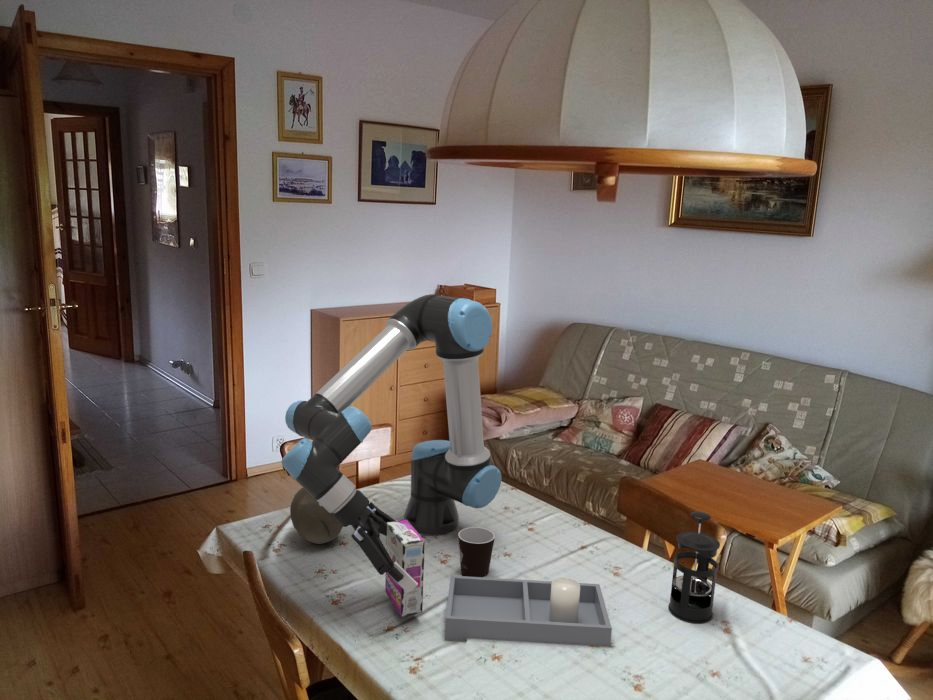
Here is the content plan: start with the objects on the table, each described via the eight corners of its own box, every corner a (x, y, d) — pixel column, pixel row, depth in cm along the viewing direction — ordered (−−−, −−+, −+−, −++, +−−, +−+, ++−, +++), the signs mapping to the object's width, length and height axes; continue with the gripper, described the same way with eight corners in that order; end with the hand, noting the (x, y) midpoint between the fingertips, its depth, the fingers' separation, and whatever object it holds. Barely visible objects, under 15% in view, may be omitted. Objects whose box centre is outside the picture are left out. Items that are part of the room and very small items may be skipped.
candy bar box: (424, 613, 148) (426, 540, 144) (401, 618, 145) (402, 544, 142) (405, 586, 157) (407, 518, 154) (384, 591, 155) (385, 521, 152)
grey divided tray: (449, 595, 159) (450, 575, 158) (597, 603, 158) (599, 584, 157) (444, 639, 142) (445, 618, 141) (609, 650, 141) (611, 628, 140)
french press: (702, 630, 149) (713, 528, 145) (660, 613, 155) (670, 515, 151) (721, 607, 158) (733, 511, 154) (680, 592, 164) (691, 499, 160)
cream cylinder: (548, 611, 153) (550, 577, 151) (575, 612, 152) (578, 578, 151) (550, 627, 147) (552, 591, 145) (579, 628, 147) (581, 593, 145)
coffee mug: (489, 585, 164) (491, 545, 162) (452, 580, 165) (454, 540, 163) (497, 562, 175) (499, 524, 173) (463, 557, 176) (464, 520, 175)
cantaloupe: (352, 532, 188) (353, 478, 185) (333, 556, 174) (334, 499, 171) (302, 526, 190) (302, 473, 187) (279, 550, 176) (279, 493, 174)
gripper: (343, 490, 160) (410, 556, 162) (317, 539, 136) (395, 615, 139) (367, 469, 159) (433, 535, 161) (344, 514, 135) (423, 592, 138)
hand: (416, 572), depth 150 cm, fingers closed on candy bar box, 12 cm apart
